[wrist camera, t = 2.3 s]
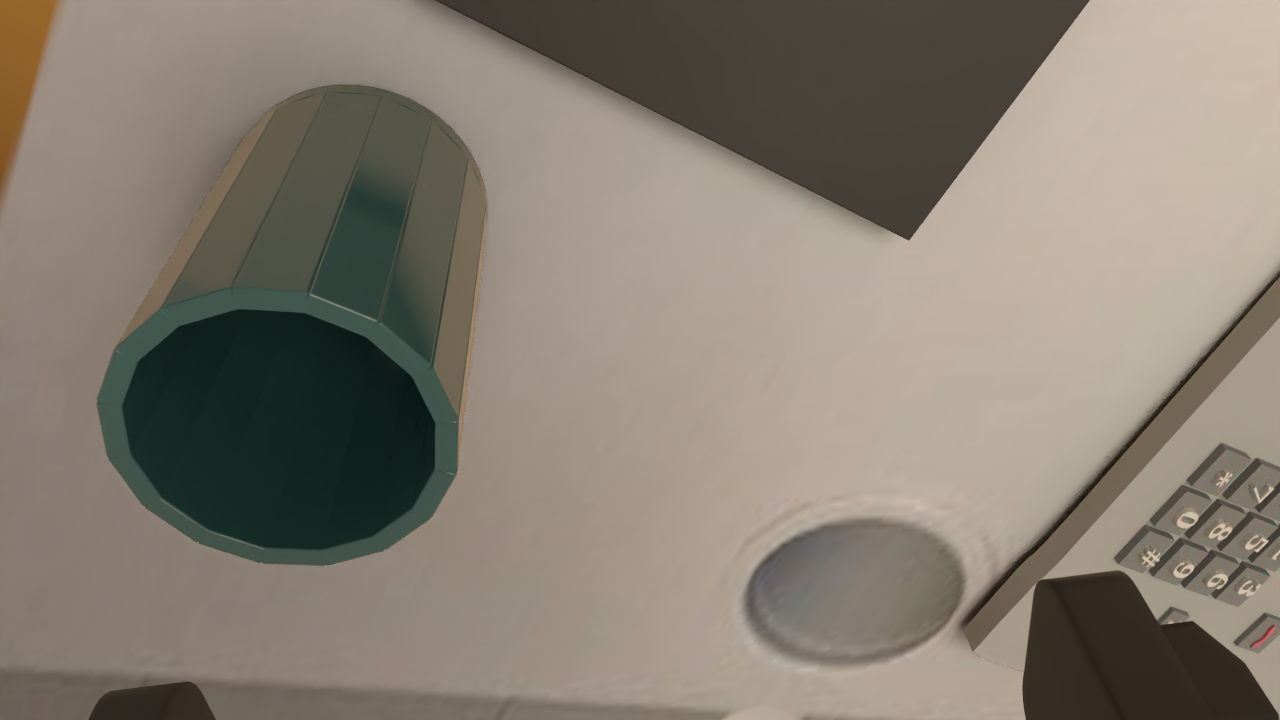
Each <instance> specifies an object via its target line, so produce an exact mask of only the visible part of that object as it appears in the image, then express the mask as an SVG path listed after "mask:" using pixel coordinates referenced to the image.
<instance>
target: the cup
mask: <svg viewBox="0 0 1280 720" xmlns="http://www.w3.org/2000/svg"><path fill="white" fill-rule="evenodd" d="M486 221H487V199H486V193H485V188H484V183H483V180H482V177H481V174H480V171H479V169H478V167H477V165H476V163H475V161H474V159H473V157H472V155H471V153H470V152H469V150H468V149H467V147H466V146H465V144H464V143H463V142H462V140H461V139H460V138H459V137H458V136H457V135H456V133H455V132H454V131H453V130H452V129H451V128H450V127H449V126H448V125H447V124H446V123H444V122H443V121H442V120H441V119H440V118H439V117H437V116H436V115H435V114H433V113H432V112H430V111H429V110H428V109H426V108H425V107H423V106H421V105H419V104H417V103H415V102H414V101H412V100H410V99H408V98H405V97H403V96H400V95H398V94H395V93H392V92H389V91H385V90H381V89H378V88H372V87H365V86H358V85H337V86H327V87H321V88H317V89H312V90H308V91H305V92H303V93H300V94H298V95H295V96H292V97H290V98H289V99H287V100H285V101H283V102H281V103H280V104H278V105H276V106H275V107H274V108H273V109H271V110H270V111H269V112H268V113H266V114H265V115H264V116H263V117H262V118H261V119H260V120H259V121H258V122H257V123H256V125H255V126H254V127H253V128H252V130H251V131H250V133H249V134H247V135H246V136H245V137H244V138H243V140H242V141H241V143H240V144H239V146H238V147H237V149H236V151H235V152H234V154H233V156H232V157H231V159H230V161H229V162H228V164H227V165H226V167H225V169H224V170H223V172H222V174H221V175H220V177H219V179H218V180H217V182H216V183H215V185H214V187H213V188H212V190H211V192H210V193H209V195H208V197H207V198H206V200H205V201H204V203H203V205H202V206H201V208H200V210H199V211H198V213H197V214H196V216H195V218H194V219H193V221H192V223H191V224H190V226H189V228H188V229H187V231H186V232H185V234H184V236H183V237H182V239H181V241H180V242H179V244H178V246H177V247H176V249H175V250H174V252H173V254H172V255H171V257H170V259H169V260H168V262H167V263H166V265H165V267H164V268H163V270H162V272H161V273H160V275H159V277H158V278H157V280H156V281H155V283H154V285H153V286H152V288H151V290H150V291H149V293H148V295H147V296H146V298H145V299H144V301H143V303H142V304H141V306H140V308H139V309H138V311H137V313H136V314H135V316H134V317H133V319H132V321H131V322H130V324H129V326H128V327H127V329H126V330H125V332H124V334H123V335H122V337H121V339H120V340H119V342H118V344H117V345H116V347H115V348H114V350H113V353H112V356H111V359H110V362H109V365H108V368H107V371H106V373H105V376H104V379H103V382H102V385H101V388H100V391H99V394H98V397H97V409H98V414H99V419H100V424H101V429H102V433H103V438H104V443H105V448H106V453H107V456H108V457H109V461H110V462H111V463H112V465H113V466H114V467H115V469H116V470H117V471H118V473H119V474H120V475H121V477H122V478H123V480H124V481H125V482H126V484H127V485H128V486H129V488H130V489H131V490H132V492H133V493H134V494H135V496H136V497H137V498H138V500H139V501H140V503H141V504H142V505H143V506H145V508H146V509H148V510H149V511H151V512H152V513H154V514H155V515H156V516H158V517H159V518H161V519H162V520H164V521H165V522H167V523H168V524H170V525H171V526H173V527H174V528H176V529H177V530H179V531H180V532H182V533H183V534H185V535H186V536H188V537H189V538H191V539H192V540H194V541H195V542H199V544H202V545H205V546H208V547H211V548H214V549H217V550H220V551H224V552H227V553H230V554H233V555H236V556H239V557H242V558H246V559H249V560H252V561H255V562H258V563H261V562H262V563H264V564H289V565H317V566H324V565H332V564H336V563H339V562H343V561H347V560H351V559H355V558H358V557H362V556H366V555H370V554H374V553H378V552H381V551H384V550H385V549H388V548H389V547H391V546H392V545H394V544H395V543H396V542H398V541H399V540H401V539H402V538H404V537H405V536H407V535H408V534H409V533H411V532H412V531H414V530H415V529H417V528H418V527H420V526H421V525H422V524H424V523H425V522H427V521H428V520H429V519H430V518H431V517H432V516H433V515H434V513H435V511H436V509H437V508H438V506H439V504H440V503H441V501H442V499H443V497H444V496H445V494H446V492H447V490H448V489H449V487H450V485H451V484H452V482H453V480H454V478H455V477H456V475H457V471H458V465H459V456H460V448H461V440H462V432H463V424H464V415H465V407H466V399H467V391H468V382H469V374H470V366H471V358H472V349H473V341H474V333H475V325H476V316H477V308H478V300H479V292H480V284H481V275H482V267H483V259H484V251H485V238H486Z"/></svg>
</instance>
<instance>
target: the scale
mask: <svg viewBox="0 0 1280 720" xmlns="http://www.w3.org/2000/svg"><path fill="white" fill-rule="evenodd" d="M436 1H438V2H440V3H442V4H444V5H446V6H448V7H450V8H452V9H454V10H456V11H458V12H460V13H462V14H463V15H465V16H467V17H469V18H471V19H473V20H475V21H477V22H479V23H481V24H483V25H485V26H487V27H489V28H491V29H493V30H495V31H497V32H499V33H501V34H503V35H505V36H507V37H509V38H511V39H513V40H515V41H517V42H519V43H521V44H523V45H525V46H527V47H529V48H530V49H532V50H534V51H536V52H538V53H540V54H542V55H544V56H546V57H548V58H550V59H552V60H554V61H556V62H558V63H560V64H562V65H564V66H566V67H568V68H570V69H572V70H574V71H576V72H578V73H580V74H582V75H584V76H586V77H588V78H590V79H592V80H594V81H595V82H597V83H599V84H601V85H603V86H605V87H607V88H609V89H611V90H613V91H615V92H617V93H619V94H621V95H623V96H625V97H627V98H629V99H631V100H633V101H635V102H637V103H639V104H641V105H643V106H645V107H647V108H649V109H651V110H653V111H655V112H657V113H659V114H660V115H662V116H664V117H666V118H668V119H670V120H672V121H674V122H676V123H678V124H680V125H682V126H684V127H686V128H688V129H690V130H692V131H694V132H696V133H698V134H700V135H702V136H704V137H706V138H708V139H710V140H712V141H714V142H716V143H718V144H720V145H722V146H724V147H725V148H727V149H729V150H731V151H733V152H735V153H737V154H739V155H741V156H743V157H745V158H747V159H749V160H751V161H753V162H755V163H757V164H759V165H761V166H763V167H765V168H767V169H769V170H771V171H773V172H775V173H777V174H779V175H781V176H783V177H785V178H787V179H789V180H790V181H792V182H794V183H796V184H798V185H800V186H802V187H804V188H806V189H808V190H810V191H812V192H814V193H816V194H818V195H820V196H822V197H824V198H826V199H828V200H830V201H832V202H834V203H836V204H838V205H840V206H842V207H844V208H846V209H848V210H850V211H852V212H854V213H856V214H857V215H859V216H861V217H863V218H865V219H867V220H869V221H871V222H873V223H875V224H877V225H879V226H881V227H883V228H885V229H887V230H889V231H891V232H893V233H895V234H897V235H899V236H901V237H903V238H905V239H907V240H910V238H911V237H912V236H913V234H914V233H915V232H916V231H917V229H918V228H919V227H920V225H921V224H922V223H923V221H924V220H925V219H926V217H927V216H928V215H929V213H930V212H931V211H932V209H933V208H934V207H935V205H936V204H937V203H938V201H939V200H940V199H941V197H942V196H943V195H944V193H945V192H946V191H947V189H948V188H949V187H950V185H951V184H952V183H953V181H954V180H955V179H956V177H957V176H958V175H959V173H960V172H961V171H962V169H963V168H964V167H965V165H966V164H967V163H968V161H969V160H970V159H971V157H972V156H973V155H974V153H975V152H976V151H977V149H978V148H979V147H980V145H981V144H982V143H983V141H984V140H985V139H986V137H987V136H988V135H989V133H990V132H991V131H992V129H993V128H994V127H995V125H996V124H997V123H998V121H999V120H1000V119H1001V117H1002V116H1003V115H1004V113H1005V112H1006V111H1007V109H1008V108H1009V107H1010V105H1011V104H1012V103H1013V101H1014V100H1015V99H1016V97H1017V96H1018V95H1019V93H1020V92H1021V91H1022V89H1023V88H1024V87H1025V85H1026V84H1027V83H1028V82H1029V80H1030V79H1031V78H1032V76H1033V75H1034V74H1035V72H1036V71H1037V70H1038V68H1039V67H1040V66H1041V64H1042V63H1043V62H1044V60H1045V59H1046V58H1047V56H1048V55H1049V54H1050V52H1051V51H1052V50H1053V48H1054V47H1055V46H1056V44H1057V43H1058V42H1059V40H1060V39H1061V38H1062V36H1063V35H1064V34H1065V32H1066V31H1067V30H1068V28H1069V27H1070V26H1071V24H1072V23H1073V22H1074V20H1075V19H1076V18H1077V16H1078V15H1079V14H1080V12H1081V11H1082V10H1083V8H1084V7H1085V6H1086V4H1087V3H1088V2H1089V0H436Z"/></svg>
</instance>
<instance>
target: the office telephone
mask: <svg viewBox="0 0 1280 720" xmlns="http://www.w3.org/2000/svg"><path fill="white" fill-rule="evenodd" d="M1116 570H1120V571H1122V572H1124V573H1126V574H1127V575H1128V576H1129V577H1130V578H1131V579H1132V580H1133V582H1134V583H1135V585H1136V586H1137V588H1138V589H1139V591H1140V593H1141V595H1142V596H1143V598H1144V600H1145V601H1146V603H1147V605H1148V606H1149V608H1150V610H1151V611H1152V613H1153V615H1154V617H1155V618H1156V620H1157V622H1158V623H1159V625H1163V624H1171V623H1179V622H1188V621H1194V622H1195V623H1196V624H1197V625H1199V626H1200V627H1201V628H1202V629H1204V630H1205V631H1206V632H1207V633H1209V634H1210V635H1211V636H1212V637H1213V638H1215V639H1216V640H1217V641H1218V642H1220V643H1221V644H1222V645H1223V646H1225V647H1226V648H1227V649H1228V650H1230V651H1231V652H1232V653H1233V654H1235V655H1236V656H1237V657H1238V658H1240V659H1241V660H1242V661H1243V662H1244V663H1245V664H1246V665H1247V667H1248V668H1249V670H1250V671H1251V673H1252V674H1253V676H1254V678H1255V679H1256V681H1257V682H1258V684H1259V685H1260V687H1261V688H1262V690H1263V691H1264V693H1265V694H1266V696H1267V697H1268V699H1269V701H1270V702H1271V704H1272V705H1273V707H1274V708H1275V710H1276V711H1277V713H1278V714H1279V720H1280V277H1279V278H1278V279H1277V280H1276V282H1275V283H1274V284H1273V285H1272V286H1271V287H1270V288H1269V290H1268V291H1267V292H1266V293H1265V294H1264V295H1263V296H1262V298H1261V299H1260V300H1259V301H1258V302H1257V303H1256V304H1255V305H1254V307H1253V308H1252V309H1251V310H1250V311H1249V312H1248V313H1247V315H1246V316H1245V317H1244V318H1243V319H1242V320H1241V321H1240V323H1239V324H1238V325H1237V326H1236V327H1235V328H1234V329H1233V330H1232V332H1231V333H1230V334H1229V335H1228V336H1227V337H1226V338H1225V340H1224V341H1223V342H1222V343H1221V344H1220V345H1219V346H1218V348H1217V349H1216V350H1215V351H1214V352H1213V353H1212V354H1211V355H1210V357H1209V358H1208V359H1207V360H1206V361H1205V362H1204V363H1203V365H1202V366H1201V367H1200V368H1199V369H1198V370H1197V371H1196V373H1195V374H1194V375H1193V376H1192V377H1191V378H1190V379H1189V380H1188V382H1187V383H1186V384H1185V385H1184V386H1183V387H1182V388H1181V390H1180V391H1179V392H1178V393H1177V394H1176V395H1175V396H1174V397H1173V399H1172V400H1171V401H1170V402H1169V403H1168V404H1167V405H1166V407H1165V408H1164V409H1163V410H1162V411H1161V412H1160V413H1159V415H1158V416H1157V417H1156V418H1155V419H1154V420H1153V421H1152V422H1151V424H1150V425H1149V426H1148V427H1147V428H1146V429H1145V430H1144V432H1143V433H1142V434H1141V435H1140V436H1139V437H1138V438H1137V440H1136V441H1135V442H1134V443H1133V444H1132V445H1131V446H1130V447H1129V449H1128V450H1127V451H1126V452H1125V453H1124V454H1123V455H1122V457H1121V458H1120V459H1119V460H1118V461H1117V462H1116V463H1115V465H1114V466H1113V467H1112V468H1111V469H1110V470H1109V471H1108V472H1107V474H1106V475H1105V476H1104V477H1103V478H1102V479H1101V480H1100V482H1099V483H1098V484H1097V485H1096V486H1095V487H1094V488H1093V489H1092V491H1091V492H1090V493H1089V494H1088V495H1087V496H1086V497H1085V499H1084V500H1083V501H1082V502H1081V503H1080V504H1079V505H1078V507H1077V508H1076V509H1075V510H1074V511H1073V512H1072V513H1071V514H1070V515H1069V517H1068V518H1067V519H1066V520H1065V521H1064V522H1063V523H1062V524H1061V525H1060V526H1059V528H1058V529H1057V530H1056V531H1055V532H1054V533H1053V534H1052V535H1051V536H1050V537H1049V539H1048V540H1047V541H1046V542H1045V543H1044V544H1043V545H1042V546H1041V547H1040V548H1039V549H1038V550H1037V551H1036V552H1035V553H1034V554H1033V555H1031V556H1030V557H1029V558H1028V559H1027V560H1026V561H1025V562H1024V563H1023V564H1022V565H1021V566H1020V567H1019V568H1018V569H1017V570H1016V571H1015V572H1014V573H1013V574H1012V575H1011V576H1010V577H1009V579H1008V580H1007V581H1006V582H1005V583H1004V584H1003V585H1002V587H1001V588H1000V589H999V590H998V591H997V592H996V593H995V594H994V596H993V597H992V598H991V599H990V600H989V601H988V602H987V603H986V605H985V606H984V607H983V608H982V609H981V610H980V611H979V612H978V614H977V615H976V616H975V617H974V618H973V619H972V620H971V621H970V623H969V624H968V625H967V626H966V627H965V628H964V632H965V634H966V637H967V639H968V642H969V644H970V646H971V649H972V651H973V653H975V654H976V655H977V656H978V657H979V658H981V659H984V660H987V661H989V662H992V663H994V664H997V665H1000V666H1004V667H1007V668H1011V669H1014V670H1018V671H1021V672H1024V668H1025V660H1026V652H1027V643H1028V635H1029V627H1030V619H1031V611H1032V602H1033V595H1034V589H1035V586H1036V584H1037V583H1038V581H1040V580H1042V579H1051V578H1059V577H1067V576H1075V575H1083V574H1091V573H1099V572H1108V571H1116Z"/></svg>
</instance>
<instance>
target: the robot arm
mask: <svg viewBox="0 0 1280 720" xmlns="http://www.w3.org/2000/svg"><path fill="white" fill-rule="evenodd" d="M1023 703H1024V711H1025V716H1026V720H1279V714H1278V713H1277V711H1276V710H1275V708H1274V707H1273V705H1272V704H1271V702H1270V701H1269V699H1268V697H1267V696H1266V694H1265V693H1264V691H1263V690H1262V688H1261V687H1260V685H1259V684H1258V682H1257V681H1256V679H1255V678H1254V676H1253V674H1252V673H1251V671H1250V670H1249V668H1248V667H1247V665H1246V664H1245V663H1244V662H1243V661H1242V660H1241V659H1240V658H1238V657H1237V656H1236V655H1235V654H1233V653H1232V652H1231V651H1230V650H1228V649H1227V648H1226V647H1225V646H1223V645H1222V644H1221V643H1220V642H1218V641H1217V640H1216V639H1215V638H1213V637H1212V636H1211V635H1210V634H1209V633H1207V632H1206V631H1205V630H1204V629H1202V628H1201V627H1200V626H1199V625H1197V624H1196V623H1195V622H1194V621H1188V622H1179V623H1171V624H1163V625H1159V623H1158V622H1157V620H1156V618H1155V617H1154V615H1153V613H1152V611H1151V610H1150V608H1149V606H1148V605H1147V603H1146V601H1145V600H1144V598H1143V596H1142V595H1141V593H1140V591H1139V589H1138V588H1137V586H1136V585H1135V583H1134V582H1133V580H1132V579H1131V578H1130V577H1129V576H1128V575H1127V574H1126V573H1124V572H1122V571H1120V570H1116V571H1108V572H1099V573H1091V574H1083V575H1075V576H1067V577H1059V578H1051V579H1042V580H1040V581H1038V583H1037V584H1036V586H1035V589H1034V595H1033V602H1032V611H1031V619H1030V627H1029V635H1028V643H1027V652H1026V660H1025V668H1024V676H1023ZM89 720H216V719H215V717H214V715H213V713H212V711H211V710H210V708H209V706H208V704H207V702H206V700H205V698H204V696H203V694H202V692H201V691H200V689H199V688H198V687H197V686H196V685H195V684H193V683H192V682H180V683H172V684H164V685H156V686H148V687H140V688H131V689H123V690H115V691H110V692H108V693H106V694H105V695H104V696H103V697H102V698H100V700H99V701H98V702H97V704H96V705H95V707H94V709H93V711H92V713H91V716H90V718H89Z"/></svg>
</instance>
